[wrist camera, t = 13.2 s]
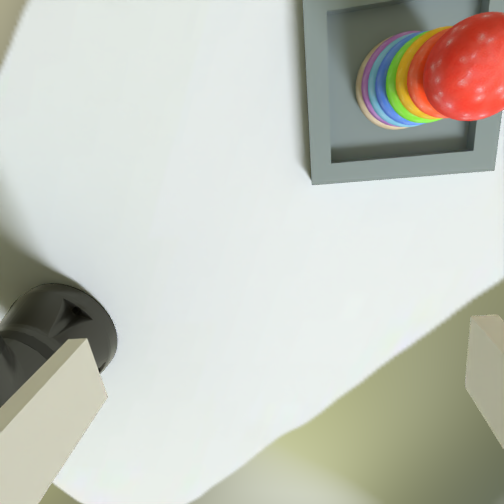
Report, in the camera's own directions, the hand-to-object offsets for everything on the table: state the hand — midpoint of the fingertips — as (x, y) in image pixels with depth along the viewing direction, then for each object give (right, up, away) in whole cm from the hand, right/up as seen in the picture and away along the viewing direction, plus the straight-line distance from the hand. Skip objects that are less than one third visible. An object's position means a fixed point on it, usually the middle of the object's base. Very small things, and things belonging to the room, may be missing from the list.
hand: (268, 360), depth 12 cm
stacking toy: (+13, +20, +21) cm, 32 cm away
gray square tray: (+13, +20, +22) cm, 32 cm away
